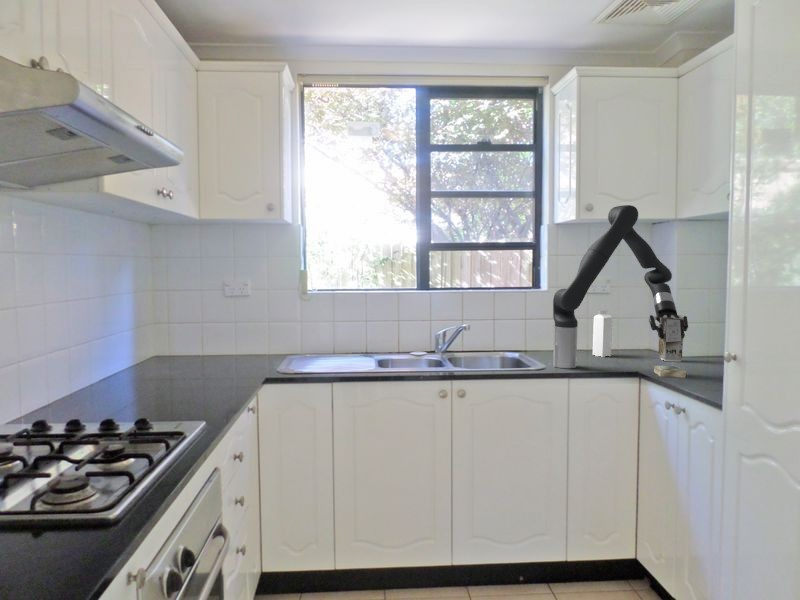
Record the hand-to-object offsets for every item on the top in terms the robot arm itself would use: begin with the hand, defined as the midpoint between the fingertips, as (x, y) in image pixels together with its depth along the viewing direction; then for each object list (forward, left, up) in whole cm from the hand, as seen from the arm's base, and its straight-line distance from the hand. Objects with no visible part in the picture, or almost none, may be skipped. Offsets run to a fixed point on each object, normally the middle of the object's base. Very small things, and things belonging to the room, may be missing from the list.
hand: (672, 337), depth 200 cm
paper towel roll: (+9, +35, -15) cm, 39 cm away
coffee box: (0, +2, -9) cm, 9 cm away
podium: (0, +2, -15) cm, 15 cm away
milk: (-19, +41, -15) cm, 47 cm away
